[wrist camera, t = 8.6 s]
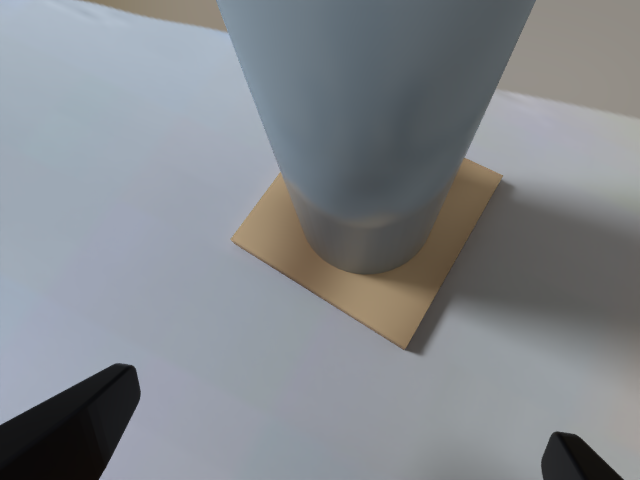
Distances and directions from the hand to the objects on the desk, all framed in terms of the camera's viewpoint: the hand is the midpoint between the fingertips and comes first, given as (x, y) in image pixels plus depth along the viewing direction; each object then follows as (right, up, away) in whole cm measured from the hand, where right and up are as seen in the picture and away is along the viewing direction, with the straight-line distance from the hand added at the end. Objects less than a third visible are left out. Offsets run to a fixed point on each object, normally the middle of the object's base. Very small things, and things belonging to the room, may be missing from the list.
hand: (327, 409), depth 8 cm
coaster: (+2, +5, +10) cm, 11 cm away
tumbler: (+2, +5, +9) cm, 11 cm away
